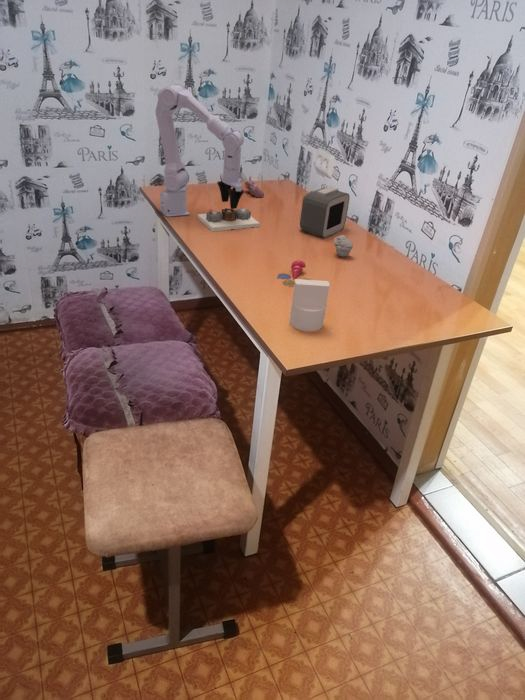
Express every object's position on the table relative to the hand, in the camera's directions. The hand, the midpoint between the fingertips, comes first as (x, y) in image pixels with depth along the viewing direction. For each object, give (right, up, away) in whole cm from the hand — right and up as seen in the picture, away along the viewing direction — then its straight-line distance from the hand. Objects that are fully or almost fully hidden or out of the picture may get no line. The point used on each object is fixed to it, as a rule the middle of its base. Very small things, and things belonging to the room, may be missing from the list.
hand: (229, 204), depth 208 cm
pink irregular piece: (+8, +13, +35) cm, 39 cm away
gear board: (-1, -6, +4) cm, 7 cm away
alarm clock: (+34, -8, +6) cm, 35 cm away
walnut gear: (0, -4, +3) cm, 5 cm away
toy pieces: (+22, -31, -32) cm, 50 cm away
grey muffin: (+39, -21, -13) cm, 47 cm away
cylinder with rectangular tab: (+24, -46, -55) cm, 76 cm away
